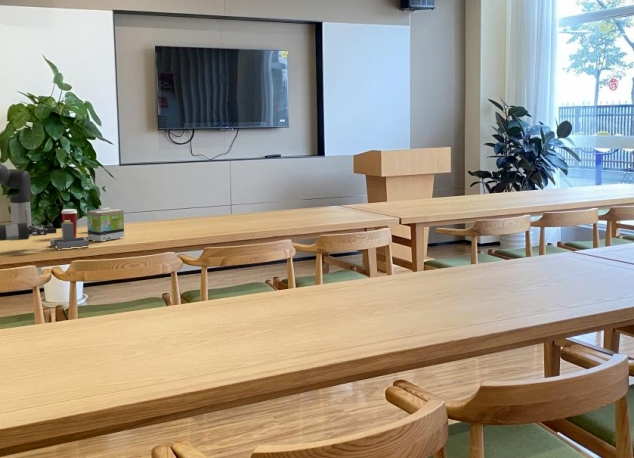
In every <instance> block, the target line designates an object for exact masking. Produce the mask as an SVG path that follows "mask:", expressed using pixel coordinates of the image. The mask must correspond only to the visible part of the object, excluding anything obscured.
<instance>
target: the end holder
mask: <svg viewBox="0 0 634 458" xmlns="http://www.w3.org/2000/svg"><path fill="white" fill-rule="evenodd" d="M53 239H54V243H55V246H57V249H62V248H71V247H82V246H90V245H89V240H88V238H86V237H85V236H81V237H80V236H79V237H76V238H74V241H71V242H63V240H62V238H53ZM57 249H56V250H57Z"/></svg>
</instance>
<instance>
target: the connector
mask: <svg viewBox="0 0 634 458" xmlns="http://www.w3.org/2000/svg"><path fill="white" fill-rule="evenodd" d="M61 237H62V238H61V239H62V240H63V242H71V241H74V228H73V223H72V222H70V220H64V223H63V222H61Z"/></svg>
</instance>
